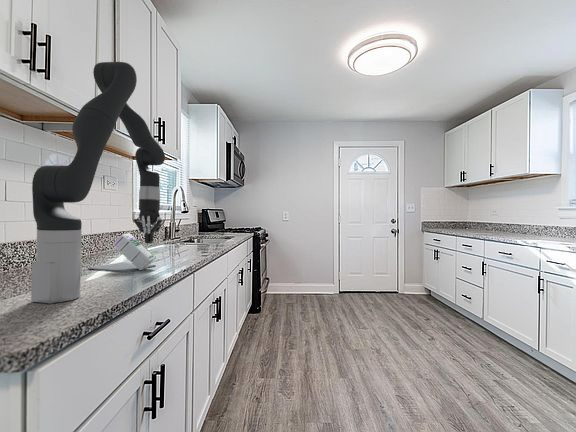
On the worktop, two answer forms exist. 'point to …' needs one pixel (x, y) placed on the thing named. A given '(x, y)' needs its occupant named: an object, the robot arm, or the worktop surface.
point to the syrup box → (134, 251)
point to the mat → (119, 267)
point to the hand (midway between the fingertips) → (148, 243)
